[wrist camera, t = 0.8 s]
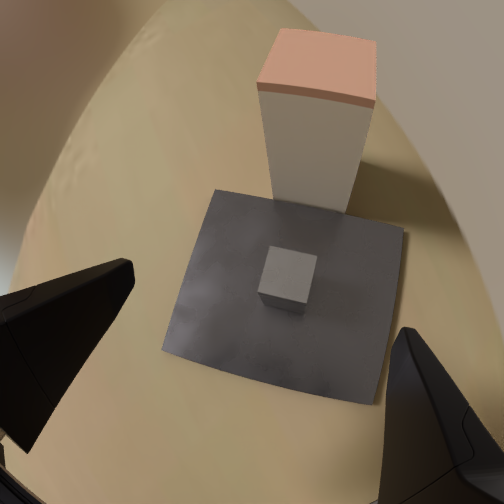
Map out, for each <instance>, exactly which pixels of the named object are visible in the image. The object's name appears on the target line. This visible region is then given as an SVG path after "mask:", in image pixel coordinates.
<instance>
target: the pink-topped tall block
mask: <svg viewBox="0 0 504 504" xmlns="http://www.w3.org/2000/svg"><path fill="white" fill-rule="evenodd" d="M257 89H258V95H259V102H260V108H261V115H262V121H263V128H264V135H265V142H266V149H267V156H268V163H269V170H270V177H271V185H272V192H273V200H278V201H283V202H288V203H293V204H298V205H303V206H308V207H313V208H318V209H323V210H327V211H332V212H337V213H341V214H345V212H346V209H347V205H348V202H349V199H350V195H351V192H352V188H353V185H354V182H355V178H356V175H357V171H358V167H359V164H360V160H361V156H362V153H363V149H364V145H365V141H366V137H367V133H368V130H369V126H370V121H371V117H372V113H373V109H374V105H375V100H376V42H375V41H371V40H366V39H361V38H355V37H350V36H344V35H338V34H331V33H324V32H316V31H308V30H298V29H286V28H281V29H280V31H279V33H278V36H277V38H276V40H275V42H274V44H273V46H272V48H271V51H270V53H269V55H268V57H267V59H266V61H265V64H264V66H263V68H262V70H261V73H260V75H259V77H258V79H257Z"/></svg>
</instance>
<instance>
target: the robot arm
mask: <svg viewBox="0 0 504 504" xmlns="http://www.w3.org/2000/svg"><path fill="white" fill-rule="evenodd" d="M134 285H135V276H134V268H133V263H132V261H130V260H128V259H124V258H119V259H116V260H113V261H109V262H106V263H103V264H100V265H97V266H93V267H90V268H87V269H84V270H81V271H78V272H75V273H72V274H68V275H65V276H62V277H59V278H56V279H53V280H50V281H47V282H44V283H41V284H38V285H37V286H32V287H29V288H26V289H23V290H20V291H17V292H13V293H10V294H6V295H3V296H0V442H1V440H2V439H3V438H4V436H5V435H6V436H7V437H8V438H9V439H11V440H12V441H13V442H14V443H15V444H16V445H17V446H18V447H19V448H21V449H22V450H23V451H24V452H25V453H26V454H28V453H29V452H30V450H31V448H32V447H33V445H34V443H35V442H36V440H37V438H38V436H39V435H40V433H41V431H42V430H43V428H44V426H45V425H46V423H47V421H48V420H49V418H50V416H51V415H52V413H53V411H54V410H55V408H56V406H57V405H58V403H59V402H60V400H61V398H62V397H63V395H64V394H65V392H66V391H67V389H68V387H69V386H70V384H71V383H72V381H73V380H74V378H75V377H76V375H77V374H78V372H79V371H80V369H81V368H82V366H83V365H84V363H85V362H86V360H87V359H88V357H89V356H90V354H91V353H92V351H93V350H94V348H95V347H96V346H97V344H98V343H99V341H100V340H101V338H102V337H103V336H104V334H105V333H106V331H107V330H108V328H109V327H110V326H111V324H112V323H113V321H114V320H115V318H116V316H117V315H118V313H119V311H120V310H121V308H122V306H123V304H124V303H125V301H126V299H127V297H128V296H129V294H130V292H131V291H132V289H133V287H134ZM0 504H46V503H45V502H44V501H42V500H41V499H40V498H39V497H37V496H36V495H35V494H34V493H32V492H31V491H30V490H29V489H28V488H26V487H25V486H24V485H23V484H22V483H21V482H20V481H18V480H17V479H16V478H15V477H14V476H13V475H12V474H11V473H10V472H9V471H8V470H6V468H5V458H4V446H3V445H2V444H1V443H0ZM377 504H504V452H503V451H502V449H501V448H500V447H499V445H498V444H497V443H496V442H495V440H494V439H493V438H492V436H491V435H490V433H489V432H488V431H487V429H486V428H485V427H484V425H483V424H482V422H481V421H480V419H479V418H478V417H477V415H476V414H475V412H474V411H473V409H472V408H471V406H469V403H468V402H467V400H466V399H465V397H464V396H463V394H462V393H461V391H460V390H459V388H458V387H457V386H456V384H455V383H454V381H453V380H452V378H451V377H450V376H449V374H448V373H447V371H446V370H445V369H444V367H443V366H442V364H441V363H440V362H439V360H438V359H437V357H436V356H435V355H434V353H433V352H432V351H431V349H430V348H429V347H428V345H427V344H426V343H425V341H424V340H423V339H422V337H421V336H420V335H419V333H418V332H417V331H416V330H415V329H414V328H409V327H402V329H401V330H400V332H399V334H398V336H397V338H396V340H395V342H394V344H393V346H392V349H391V355H390V365H389V374H388V382H387V390H386V408H385V431H384V447H383V459H382V470H381V479H380V488H379V496H378V503H377Z"/></svg>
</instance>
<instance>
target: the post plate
mask: <svg viewBox="0 0 504 504" xmlns="http://www.w3.org/2000/svg"><path fill="white" fill-rule="evenodd" d="M403 231H404V228H401V227H397V226H393V225H389V224H385V223H381V222H377V221H372V220H368V219H364V218H359V217H355V216H350V215H346V214H341V213H337V212H332V211H327V210H323V209H318V208H313V207H308V206H303V205H298V204H293V203H288V202H283V201H278V200H273V199H267V198H262V197H257V196H251V195H246V194H240V193H234V192H228V191H222V190H216V189H215V191H214V194H213V196H212V199H211V202H210V205H209V207H208V210H207V213H206V216H205V218H204V221H203V224H202V227H201V230H200V232H199V235H198V238H197V241H196V244H195V247H194V250H193V252H192V255H191V258H190V261H189V264H188V267H187V270H186V273H185V276H184V279H183V282H182V285H181V288H180V291H179V295H178V298H177V301H176V304H175V307H174V310H173V313H172V317H171V320H170V323H169V326H168V330H167V333H166V336H165V339H164V343H163V346H162V350H163V351H165V352H168V353H171V354H174V355H176V356H179V357H182V358H185V359H188V360H191V361H194V362H197V363H200V364H203V365H206V366H209V367H212V368H216V369H219V370H222V371H225V372H229V373H232V374H235V375H239V376H242V377H246V378H249V379H253V380H257V381H260V382H264V383H268V384H272V385H276V386H280V387H284V388H288V389H292V390H296V391H300V392H305V393H309V394H314V395H319V396H323V397H328V398H333V399H338V400H344V401H349V402H355V403H361V404H367V405H372V404H373V400H374V397H375V393H376V389H377V385H378V381H379V377H380V373H381V369H382V365H383V361H384V356H385V352H386V347H387V342H388V337H389V332H390V327H391V321H392V316H393V310H394V304H395V298H396V291H397V284H398V277H399V269H400V261H401V252H402V242H403Z"/></svg>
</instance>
